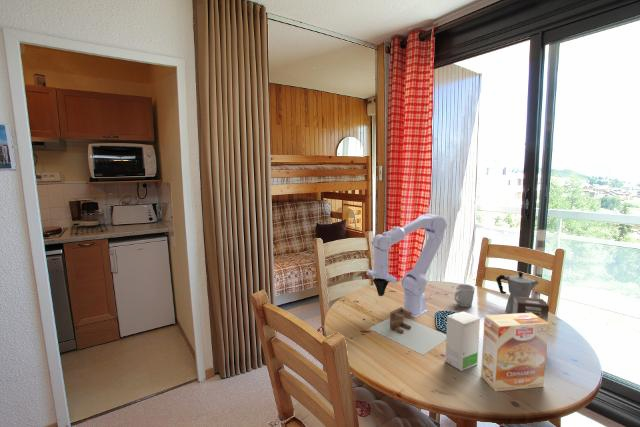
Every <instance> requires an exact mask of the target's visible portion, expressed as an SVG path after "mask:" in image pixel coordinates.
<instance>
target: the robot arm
mask: <svg viewBox="0 0 640 427" xmlns="http://www.w3.org/2000/svg"><path fill="white" fill-rule="evenodd" d="M447 226H448V224H447V220H446V219H445V217H444V216H443V215H438V214H433V213H432V214H431V213H428V212H427V213H424V214H421V215H419V216H418V217H417V218H415V219H414V220H412V221H410V222H409V223H406V224H405V225H403V226H393V227H392V229H389V230H388V231H384V232H382V234H380V233H379V234H376V235H374V237H373V238H372V240H371V245H372V246H373V248H374V250H373V251H374V252H373V253H374V254H373V255H374V256H373V259H374V260H373V261H374V263H373V264H374V266H373V267H374V270H373V269H367V270H366V275H367V276H371V277H373V278H372V282H373V284H374V285H375V288H376V291H377V295H378V296H379V297H383V296H385V292H386V289H387V286H388V284H389V283H390V282H391V283H392V284H396V283H398V277H395V276H393V275H391V274H390V273H389V250H390V249H391V247H392V245H394V244H397V243H398V242H401V241H402V240H404V239H405V237H406V235H409V234H410V233H414V232H415V231H418V230H420V229H424V230H425V231H426V233H427V235H428V237H427V239H426V240H427V241H426V242H425V244H424V246H423V247H422V251H420V253H419V257H418V258H417V260H416V261H415V262H416V263H415V264H414V266H413V268H412V269H410V270H408V271H407V272H406V273H405V275H404V276H403V277H402V278H401V282H400V284H401V286H402V288H403V293H404V295H403V308H404V310H407V311H409V312H411V313H412V314H411V316H410V315H408V316H409V317H412V318H417V317H419V316H422V315H424V314H426V313H427V312H428V310H427V308H426V305H427V304H426V303H427V297H426V294H425V291H426V286H427V283H428V280H427V277H426V274H427V272H428V270H429V268H430V266H431V264H432V262H433V260H434V258H435V257H436V254H437V252H438V250H439V248H440V246H441V244H442V242H443V240H444V234H445V230H446V229H447ZM404 315H406V314H405V313H404Z"/></svg>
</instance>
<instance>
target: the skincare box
mask: <svg viewBox="0 0 640 427" xmlns="http://www.w3.org/2000/svg"><path fill="white" fill-rule="evenodd" d="M480 320H481V317H478V316H475V315H473V314H470V313H469V312H466V311H464V310H463V311H460V312H454V313H453V314H449V315H446V333H445V334H446V340H445V360H444V361H445V362H446V363H447V364H449V365H451V367H454V368H456V369H457V370H459V371H460V372H463V371H465V370H467V369H470V368H472V367H474V366H477V365H478V364H479V344H480V340H479V339H480V322H481V321H480Z"/></svg>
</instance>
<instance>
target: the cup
mask: <svg viewBox="0 0 640 427" xmlns="http://www.w3.org/2000/svg"><path fill="white" fill-rule="evenodd" d="M455 289H456V290H455V292H454V296H453V297H454V301H455V302H456V303H457V304H458V306H460V307H462V308H470V307H472V306H473V300H474V297H475V296H474V294H475V289H476V288H475V286H473V285H470V284H465V283H464V284H463V283H459V284H457V285H456V286H455Z"/></svg>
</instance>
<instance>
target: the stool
mask: <svg viewBox="0 0 640 427" xmlns="http://www.w3.org/2000/svg"><path fill="white" fill-rule="evenodd" d="M404 313H405V314H404ZM411 314H412V313H411V312H409V311H407V310H404V307H398V308H397V309H393V310H392V311H390V313H389V318H390V330H396V331H398V332H400V333H402V334H403V333H404V330H402V329H400V328H398V327H400V326H403V327H406V328H408V329H411V326H410V325H408V324H405V323H403V319H404V317H405V316H404V315H406V316H407V315H408V316H409V315H410V316H409V317H412V316H411Z"/></svg>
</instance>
